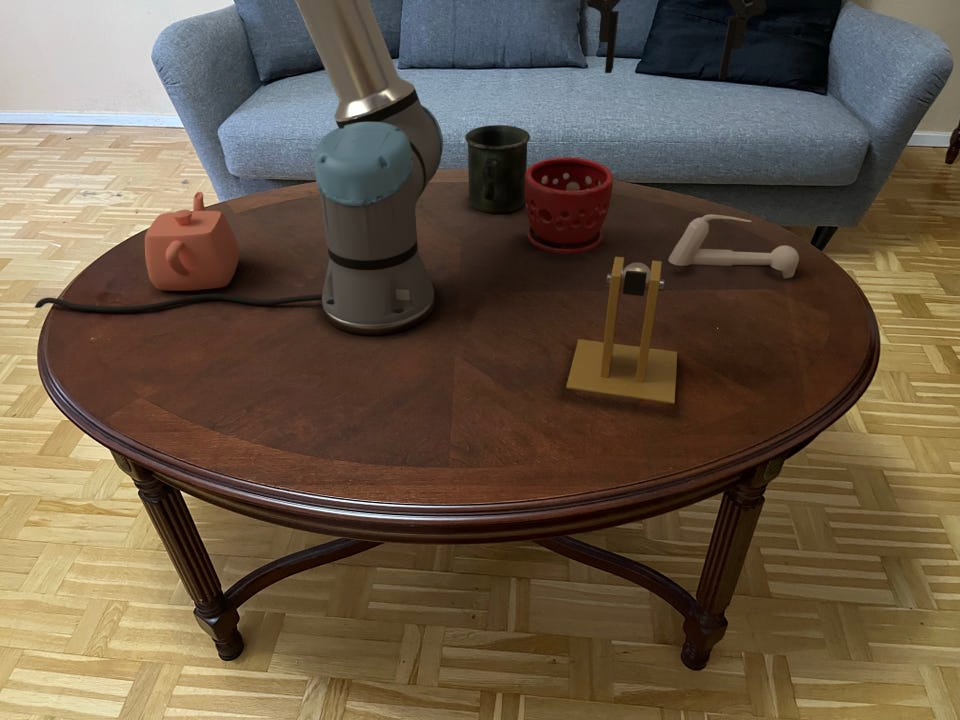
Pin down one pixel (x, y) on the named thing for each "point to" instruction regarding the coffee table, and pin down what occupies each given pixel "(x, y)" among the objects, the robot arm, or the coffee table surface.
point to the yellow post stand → (626, 353)
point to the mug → (497, 167)
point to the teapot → (191, 249)
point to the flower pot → (567, 204)
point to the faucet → (728, 251)
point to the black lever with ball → (635, 279)
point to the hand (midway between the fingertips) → (664, 74)
